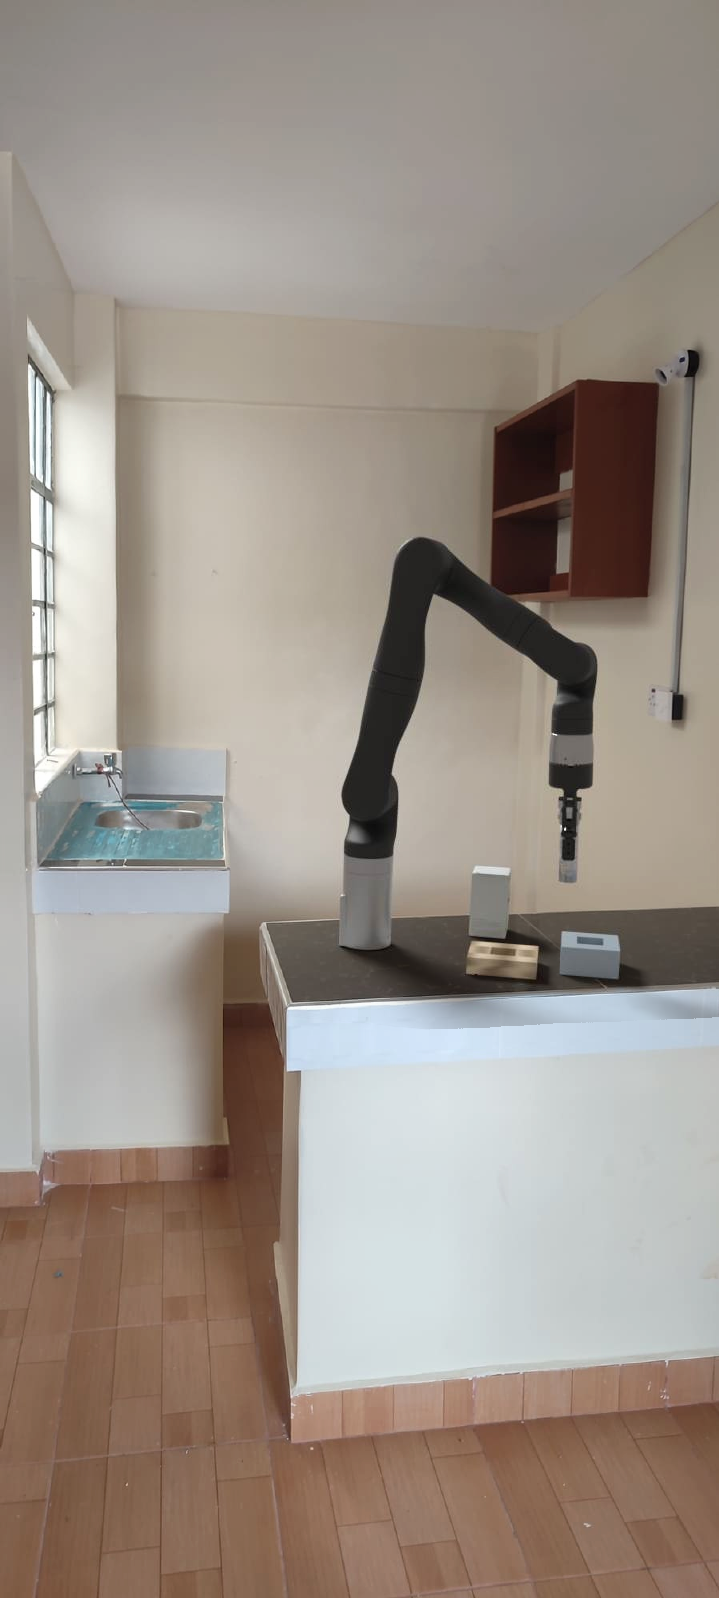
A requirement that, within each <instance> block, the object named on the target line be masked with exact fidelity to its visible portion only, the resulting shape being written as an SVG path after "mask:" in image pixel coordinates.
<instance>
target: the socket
mask: <svg viewBox="0 0 719 1598" xmlns="http://www.w3.org/2000/svg"><path fill="white" fill-rule="evenodd" d="M560 939H561V941H560V955H559V956H560V957H559V961H560V963H559V975H563V976H564V975H565V976H573V977H574V976H577V977H586V978H587V977H588V978H600V979H611V980H619V974H620V961H621V960H620V959H621V947H620V946H621V945H620V940H619V935H617V934H605V933H602V934H601V933H591V932H590V933H589V932H580V931H579V932H577V931H565V930H564V931H563V930H562V931H561V938H560Z"/></svg>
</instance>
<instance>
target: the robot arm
mask: <svg viewBox="0 0 719 1598" xmlns="http://www.w3.org/2000/svg"><path fill="white" fill-rule="evenodd" d="M434 595H435V596H437V597H439V598H442V599H444V600H446V601H449V602H450V603H452V604H454V605H456V606H457V607H458V608H460V609H461V610H463V611H465V612H466V613H467V614H468V615H470V616H471V617H473V619H475V620H476V621H477V622H478V623H479V624H480V625H481V626H482V627H484V628H485V629H486V630H487V631H489V632H490V633H491V634H492V635H494V636H495V637H496V638H497V639H498V640H500V641H502V642H503V643H505V644H506V645H508V646H509V647H510V648H512V649H514V650H516V651H517V652H518V653H520V654H521V655H524V656H525V657H527V658H529V660H531V661H532V662H533V663H534V664H535V665H536V666H537V667H539V668H540V669H541V670H542V671H543V672H544V673H546V674H547V675H548V676H550V677H551V678H552V679H554V680H556V681H557V683H556V697H555V701H554V703H553V705H552V709H551V726H550V727H551V728H550V733H551V734H550V741H549V748H548V750H549V751H548V753H549V754H548V785H549V786H550V787H551V788H554V789H561V791H563V792H562V793H563V795H562V796H558V805H557V808H558V809H559V812H560V813H559V819H558V820H559V821H558V822H559V826H560V825H562V832H561V837H562V859H563V860H565V861H573V860H574V859H575V839H576V837H577V833H576V827H577V826H578V825H580V821H581V820H580V813H581V812H580V811H581V809H582V801H583V800H582V796H578V790H586V789H590V788H592V786H593V782H594V758H595V757H594V756H595V755H594V754H595V753H594V750H595V749H594V748H595V745H594V736H593V734H594V733H593V732H594V699H595V693H596V686H597V681H598V680H597V679H598V678H597V677H598V667H599V666H598V665H599V664H598V658H597V655H596V653H595V651H594V649H593V648H592V647H591V646H590V645H588V644H586V643H583V642H577V641H576V642H575V641H574V640H572V639H570V638H568V637H567V636H566V635H564V634H562V633H560V632H559V631H558V630H556V629H554V628H553V625H551V623H550V622H549V621H547V620H546V619H545V618H544V617H542V616H541V615H539V614H537V613H536V612H534V611H533V610H531V609H530V608H528V607H527V606H526V605H524V604H522V603H521V602H519V601H517V600H515V599H514V598H513V597H511V596H509V595H507V594H505V593H504V592H502V591H500V590H499V589H498V588H495V586H493V585H491V584H490V583H488V582H487V581H485V580H484V579H482V578H481V577H480V576H478V575H477V574H476V573H475V572H473V571H472V570H471V569H470V568H468V566H466V564H464V563H463V562H462V561H461V560H460V559H459V558H458V557H457V556H456V555H455V554H454V553H453V552H452V551H451V550H450V549H449V548H448V547H447V546H446V544H444V543H443V542H441V541H438V540H436V539H432V538H430V537H425V536H415V537H411V538H409V539H407V540H406V541H405V542H403V544H401V546H400V547H399V548H398V550H397V552H396V555H395V556H394V561H393V566H392V573H391V582H390V590H389V595H388V596H389V597H388V603H387V609H386V614H385V615H386V616H385V618H384V622H383V626H382V629H381V633H380V637H379V641H378V645H377V649H376V653H375V657H374V661H373V664H372V669H371V672H370V676H369V680H368V685H367V691H366V696H365V700H364V704H363V705H364V706H363V711H362V715H361V720H360V727H359V733H358V734H359V735H358V739H357V743H356V746H355V749H354V753H353V754H352V755H353V756H352V759H351V761H350V764H349V768H348V770H347V773H346V775H345V778H344V781H343V784H342V788H341V793H340V796H341V803H342V807H343V808H344V810H345V812H346V813H347V815H348V816H349V822H348V827H347V832H346V835H345V837H344V840H343V872H342V873H343V875H342V876H343V877H342V879H343V880H342V894H341V895H340V896H339V923H338V924H339V925H338V926H339V927H338V928H339V930H338V931H339V932H338V933H339V934H338V939H339V940H338V946H342V947H346V948H349V949H353V950H362V951H376V950H381V949H385V948H387V947H390V946H391V937H392V908H393V907H392V906H393V877H394V876H393V875H394V848H395V843H396V842H395V841H396V838H397V831H398V818H399V787H398V782H397V780H396V778H395V776H394V775H393V769H394V763H395V759H396V758H395V757H396V755H397V751H398V748H399V746H400V743H401V741H402V739H403V736H404V734H405V732H406V731H407V728H408V725H409V723H410V721H411V719H412V717H413V714H414V712H415V709H416V706H417V703H418V699H419V696H420V693H421V688H422V683H423V680H424V674H425V666H426V623H427V618H428V614H429V610H430V607H431V602H432V599H433V597H434ZM566 826H567V827H573V828H574V829H573V830H565V827H566ZM564 838H565V839H564Z"/></svg>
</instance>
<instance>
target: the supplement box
mask: <svg viewBox="0 0 719 1598" xmlns="http://www.w3.org/2000/svg"><path fill="white" fill-rule="evenodd" d="M511 878H512V868H511V867H502V866H487V865H486V866H484V865H483V866H482V865H475V866H474V867H473V870H472V873H471V884H470V904H469V926H468V936H470V937H480V938H493V939H503V940H504V939H506V936H507V932H508V929H509V916H510V898H511V897H510V896H511V880H512V879H511Z"/></svg>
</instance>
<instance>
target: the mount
mask: <svg viewBox="0 0 719 1598" xmlns="http://www.w3.org/2000/svg"><path fill="white" fill-rule="evenodd" d="M538 959H539V946H538V945H528V944H527V945H526V944H514V943H501V942H491V941H490V942H489V941H475V940H471V941H470V945H469V949H468V952H467V955H466V967H465V968H466V971H465V974H466V975H475V974H477V976H489V977H498V978H501V977H502V978H514V979H526V980H535V981H536V980H537V971H538V965H539V964H538V961H539V960H538Z"/></svg>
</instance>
